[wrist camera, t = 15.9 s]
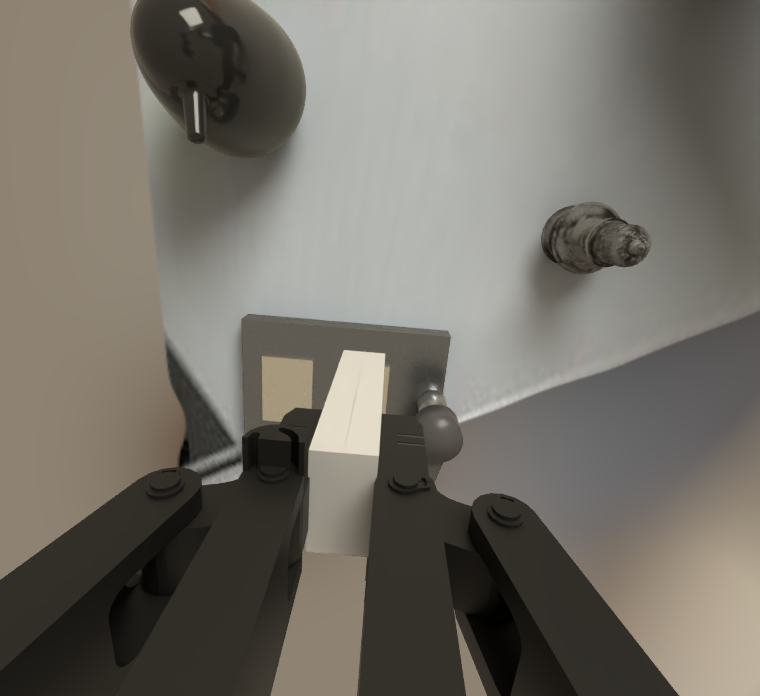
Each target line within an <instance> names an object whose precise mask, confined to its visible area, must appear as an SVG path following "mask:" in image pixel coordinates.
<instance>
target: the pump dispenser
mask: <svg viewBox="0 0 760 696" xmlns="http://www.w3.org/2000/svg"><path fill="white" fill-rule="evenodd" d="M130 35H131V43H132V48H133V52H134V56H135V59H136V62H137V64H138V67H139V69H140V71H141V73H142V75H143V77H144V79H145V81H146V83H147V84H148V86H149V88H150V89H151V91H152V92H153V94H154V95H155V97H156V98H157V99H158V101H159V102H160V103H161V105H162V106H163V107H164V108H165V110H166V111H167V112H168V113H169V114H170V115H171V117H172V118H173V119H174V120H175V121H176V122H177V123H178V124H179V125H180V126H181V127H182V128H183V129H185V130H186V132H187V138H188V139H189V140H190V141H191V142H193V143H195V144H202V143H203V144H205V145H206V146H208V147H209V148H211V149H213V150H215V151H217V152H220V153H222V154H225V155H228V156H232V157H237V158H255V157H260V156H264V155H267V154H269V153H271V152H273V151H275V150H276V149H278V148H279V147H281V146H282V145H283V144H284V143H285V142H286V141H287V140H288V139H289V138H290V137H291V135H292V134H293V133H294V131H295V130H296V128H297V126H298V124H299V122H300V119H301V117H302V114H303V110H304V106H305V99H306V81H305V74H304V70H303V66H302V62H301V59H300V57H299V54H298V52H297V50H296V48H295V46H294V44H293V43H292V41H291V39H290V38H289V36H288V35H287V34H286V32H285V31H284V30H283V28H282V27H281V26H280V25H279V24H278V23H277V22H276V21H275V20H274V19H273V18H272V17H271V16H270V15H269V14H268V13H267V12H265V11H264V10H263V9H262V8H261V7H259V6H258V5H257V4H255V3H254V2H253V1H251V0H137V2H136V4H135V6H134V9H133V12H132V16H131V24H130Z"/></svg>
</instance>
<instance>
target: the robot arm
mask: <svg viewBox="0 0 760 696" xmlns="http://www.w3.org/2000/svg"><path fill="white" fill-rule="evenodd" d="M384 366H385V353H373V352H361V351H350V350H344V351H343V354H342V357H341V359H340V362H339V365H338V368H337V371H336V374H335V376H334V379H333V382H332V385H331V388H330V391H329V394H328V396H327V399H326V402H325V405H324V408H323V410H319V409H308V408H294V409H293V410H291V411H290V412H288V413H287V414H285V415H284V417H283V419H282V421H281V423H280V424H275V425H265V426H260V427H257V428H255V429H252V430H250V431H248V432H247V433H246V434H245V435H244V436H243V437H242V451H243V472H242V473H241V475H240V477H239V479H237V480H234V481H231V482H225V483H219V484H211V485H203V486H202V482H201V478H200V476H199V475H198V473H197V472H194V471H192V470H190V469H186V468H178V467H176V468H166V469H161V470H159V471H155V472H152V473H149V474H147V475H146V476H144V477H142V478H140V479H138V480H137V481H136V482H134V483H133V484H132V485H130V486H129V487H127V488H126V489H125V490H123V491H122V492H121V493H119V494H118V495H116V496H115V497H114V498H112V499H111V500H110V501H108V502H107V503H105V504H104V505H103V506H101V507H100V508H99V509H97V510H96V511H94V512H93V513H92V514H90V515H89V516H88V517H86V518H85V519H84V520H82V521H81V522H80V523H78V524H77V525H75V526H74V527H73V528H71V529H70V530H68V531H67V532H66V533H64V534H63V535H61V536H60V537H59V538H57V539H56V540H55V541H53V542H52V543H50V544H49V545H48V546H46V547H45V548H44V549H42V550H41V551H39V552H38V553H37V554H35V555H34V556H33V557H31V558H30V559H28V560H27V561H26V562H24V563H23V564H22V565H20V566H19V567H17V568H16V569H15V570H14V571H12V572H11V573H9V574H8V575H6V576H5V577H4V578H2V579H1V580H0V696H270V695H271V690H272V687H273V683H274V679H275V675H276V671H277V667H278V663H279V658H280V655H281V651H282V647H283V643H284V639H285V635H286V631H287V627H288V623H289V619H290V615H291V611H292V607H293V603H294V599H295V595H296V591H297V587H298V583H299V579H300V575H301V571H302V551H303V548H304V544H305V540H306V552H317V553H328V554H340V555H351V556H362V557H368V565H367V577H366V588H365V599H364V616H363V628H362V640H361V653H360V666H359V679H358V692H357V696H466V693H465V685H464V679H463V671H462V664H461V657H460V650H459V644H458V636H457V630H456V623H455V616H454V610H455V615H456V619H457V621H458V624H459V626H460V629H461V631H462V633H463V636H464V639H465V641H466V643H467V646H468V648H469V651H470V653H471V656H472V659H473V661H474V664H475V666H476V669H477V671H478V673H479V676H480V679H481V681H482V684H483V686H484V689H485V691H486V693H487V696H679V695H678V694H677V692H676V691H675V690H674V689H673V687H671V685H670V684H669V682H668V681H667V680H666V678H665V677H664V676H663V675H662V673H661V672H660V671H659V670H658V668H657V667H656V666H655V665H654V663H653V662H652V661H651V659H650V658H649V657H648V656H647V654H646V653H645V652H644V650H643V649H642V648H641V647H640V645H639V644H638V643H637V642H636V640H635V639H634V638H633V636H632V635H631V634H630V633H629V631H628V630H627V629H626V628H625V626H624V625H623V624H622V622H621V621H620V620H619V619H618V617H617V616H616V615H615V614H614V612H613V611H612V610H611V608H610V607H609V606H608V605H607V603H606V602H605V601H604V600H603V598H602V597H601V596H600V595H599V593H598V592H597V591H596V589H595V588H594V587H593V586H592V584H591V583H590V582H589V581H588V579H587V578H586V577H585V575H584V574H583V573H582V572H581V570H580V569H579V568H578V566H577V565H576V564H575V563H574V561H573V560H572V559H571V558H570V556H569V555H568V554H567V553H566V551H565V550H564V549H563V547H562V546H561V545H560V544H559V542H558V541H557V540H556V538H555V537H554V536H553V535H552V533H551V532H550V531H549V530H548V528H547V527H546V526H545V525H544V523H543V522H542V521H541V519H540V518H539V517H538V516H537V514H536V513H535V512H534V511H533V510H532V509H531V508H530V507H529V506H528V505H527V504H525V503H523V502H522V501H520V500H518V499H516V498H514V497H511V496H507V495H504V494H493V493H490V494H485V495H481V496H479V497H478V498H477V499H476V500H474V502H473V505H472V506H469V505H465V504H462V503H459V502H456V501H454V500H451V499H449V498H447V497H445V496H444V495H442V494H440V493H439V492H438V491H437V490H436V486H435V484H434V481H433V479H431V478H430V477H429V472H428V464H427V456H426V448H425V440H424V433H423V426H422V424H421V423H420V422H419V421H418V420H417V419H416V418H415V416H403V415H392V414H382V399H383V383H384ZM133 576H134V577H133ZM132 577H133V578H132ZM131 578H132V579H131ZM453 608H454V609H453Z"/></svg>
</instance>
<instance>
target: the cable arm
mask: <svg viewBox="0 0 760 696" xmlns="http://www.w3.org/2000/svg"><path fill="white" fill-rule="evenodd" d="M415 418H416V419H417V420H418V421H419V422H420V423H421V424H422V426H423V433H424V440H425V448H426V456H427V464H428V472H429V477H430V478H431V479H433V481H434V482H435V480H436V478H437V475H438V473H439V471H440V469H441V466H442V464H443V462H446V461H449V460H451V459H453V458H454V457H455V456H457V455H458V453H459V452H460V450H461V448H462V445H463V437H462V434H461V430H460V427H459V423H458V420H457V417H456V415H455V413H454V412H453V411H452V410H451V409H450V408H448V407H446V406H443V405H438V404H434V405H429V406H426V407H424V408H423V409H421V410H420V411H419V412H418V413H417V415H416V416H415ZM367 565H368V557H367ZM366 577H367V566H366ZM365 581H366V578H365Z"/></svg>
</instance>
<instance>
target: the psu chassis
mask: <svg viewBox="0 0 760 696" xmlns="http://www.w3.org/2000/svg"><path fill="white" fill-rule="evenodd" d="M450 338H451V337H450V334H449V332H448V331H442V330H430V329H418V328H406V327H395V326H383V325H371V324H359V323H348V322H336V321H324V320H312V319H301V318H289V317H277V316H265V315H254V314H248V315H246V316H245V317H244V318H242V355H243V392H244V428H245V434H246V433H247V432H248V431H250V430H252V429H255V428H257V427H260V426H265V425H275V424H280V423H281V421H282V419H283V417H284V415H285V414H287V413H288V412H290V411H291V410H293V409H294V408H308V409H319V410H323V408H324V405H325V402H326V399H327V396H328V394H329V391H330V388H331V385H332V382H333V379H334V376H335V374H336V371H337V368H338V365H339V362H340V359H341V357H342V354H343V351H344V350H350V351H361V352H373V353H385V366H384V383H383V399H382V414H392V415H403V416H416V415H417V413H418V412H419V411H420V410H421V409H423V408H424V407H426V406H429V405H434V404H438V405H443V406H446V407H447V405H446V401H445V397H444V393H443V388H444V381H445V374H446V367H447V359H448V352H449V345H450Z"/></svg>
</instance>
